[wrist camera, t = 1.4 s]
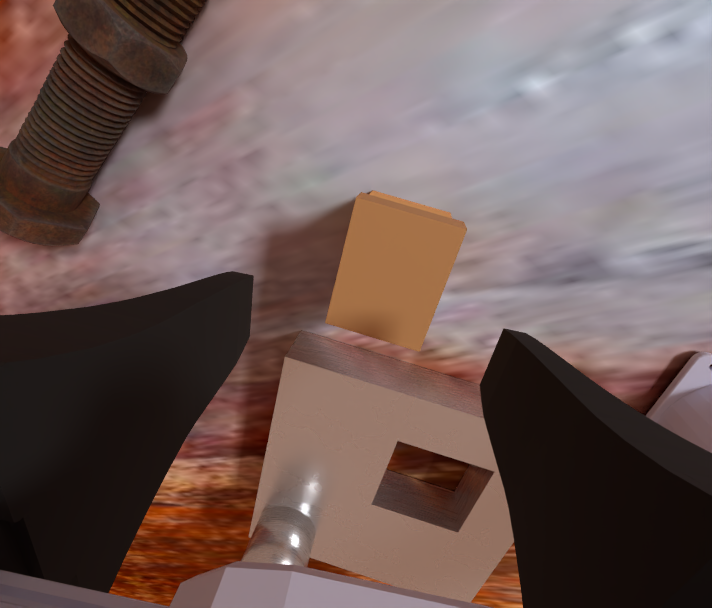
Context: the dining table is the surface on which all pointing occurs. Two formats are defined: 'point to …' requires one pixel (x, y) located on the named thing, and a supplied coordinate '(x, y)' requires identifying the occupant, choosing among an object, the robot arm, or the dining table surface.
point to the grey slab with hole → (377, 473)
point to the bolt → (87, 111)
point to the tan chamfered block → (393, 268)
